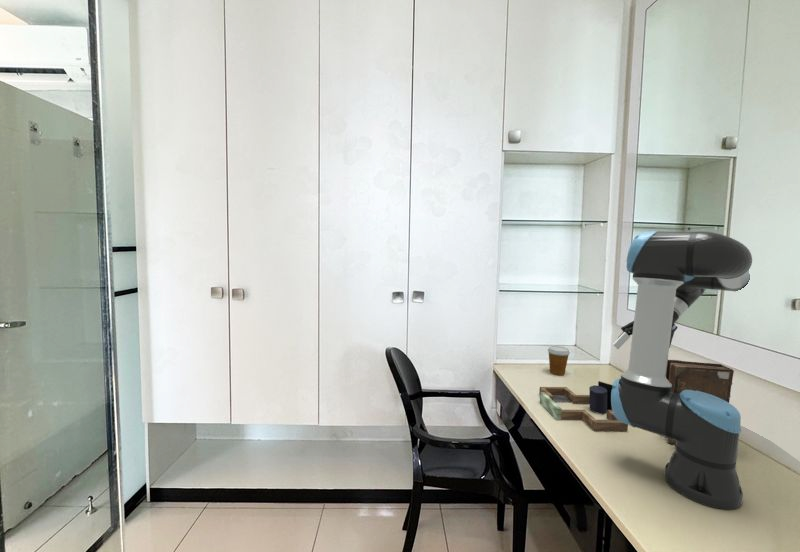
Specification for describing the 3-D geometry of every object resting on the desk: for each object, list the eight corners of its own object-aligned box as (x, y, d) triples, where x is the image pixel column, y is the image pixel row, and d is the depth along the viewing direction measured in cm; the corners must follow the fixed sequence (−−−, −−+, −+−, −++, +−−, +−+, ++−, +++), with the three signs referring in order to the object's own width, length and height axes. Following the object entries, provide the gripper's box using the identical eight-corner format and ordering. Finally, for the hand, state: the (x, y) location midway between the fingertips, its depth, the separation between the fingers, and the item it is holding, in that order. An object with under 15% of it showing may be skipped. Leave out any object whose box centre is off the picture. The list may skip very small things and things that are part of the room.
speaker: (600, 404, 139) (601, 378, 137) (614, 411, 133) (615, 385, 131) (585, 408, 136) (586, 383, 134) (598, 416, 131) (599, 389, 129)
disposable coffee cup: (549, 368, 178) (550, 344, 177) (570, 373, 173) (571, 348, 171) (543, 374, 170) (545, 348, 169) (565, 378, 165) (567, 353, 164)
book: (717, 440, 115) (726, 363, 112) (731, 453, 108) (741, 371, 105) (657, 432, 119) (664, 358, 117) (667, 444, 112) (674, 365, 110)
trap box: (631, 431, 119) (632, 419, 119) (567, 431, 118) (568, 419, 118) (584, 394, 148) (584, 384, 148) (531, 394, 147) (532, 384, 147)
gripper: (707, 326, 121) (663, 372, 121) (647, 310, 146) (611, 348, 145) (695, 310, 120) (650, 357, 120) (636, 297, 144) (599, 336, 144)
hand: (628, 352), depth 133 cm, fingers open, 13 cm apart
